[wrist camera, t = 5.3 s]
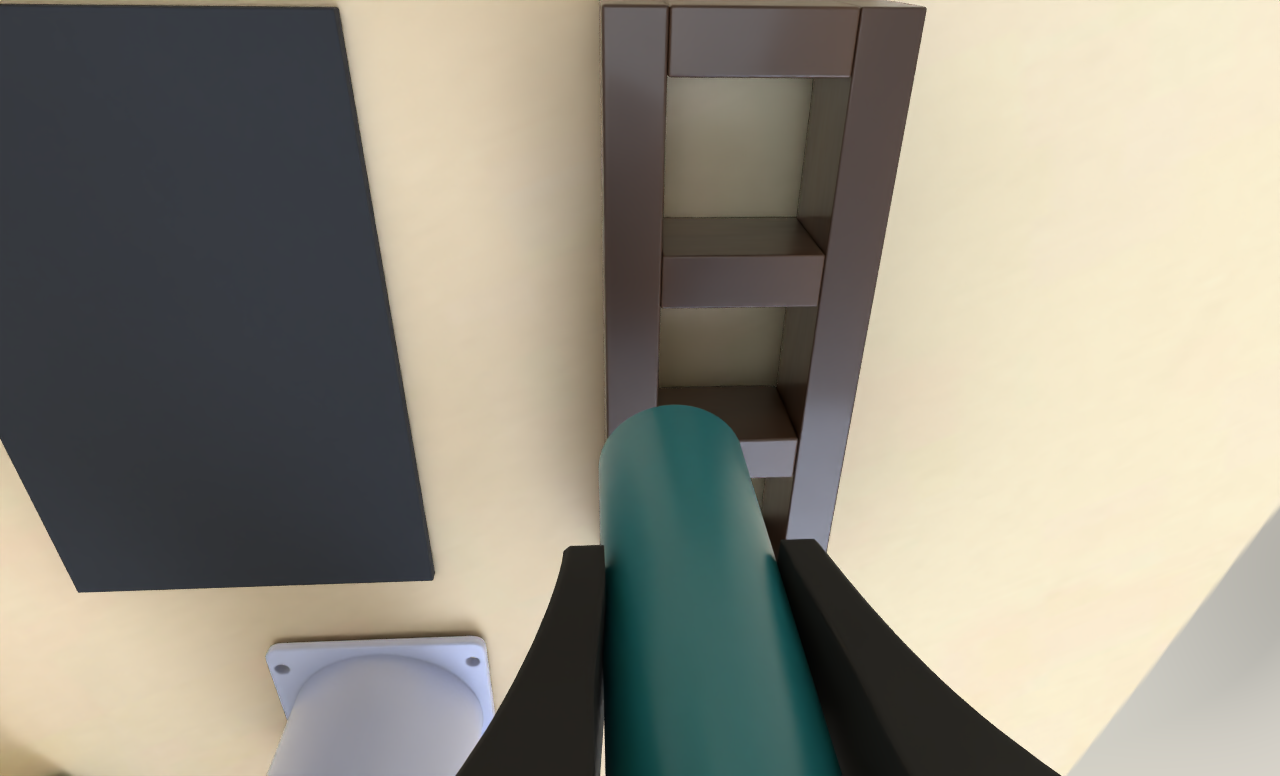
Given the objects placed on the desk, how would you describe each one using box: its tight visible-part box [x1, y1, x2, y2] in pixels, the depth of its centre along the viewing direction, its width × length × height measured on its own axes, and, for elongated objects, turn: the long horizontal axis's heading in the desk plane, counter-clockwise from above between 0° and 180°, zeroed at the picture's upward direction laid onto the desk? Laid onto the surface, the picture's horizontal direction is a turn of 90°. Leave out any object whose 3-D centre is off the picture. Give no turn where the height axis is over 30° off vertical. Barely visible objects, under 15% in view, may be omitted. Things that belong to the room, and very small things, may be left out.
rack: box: [599, 0, 927, 562], centre depth 21 cm, size 7×18×3 cm, turn 179°
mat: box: [0, 4, 435, 593], centre depth 22 cm, size 18×12×1 cm, turn 179°
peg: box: [599, 405, 843, 776], centre depth 13 cm, size 3×3×9 cm
